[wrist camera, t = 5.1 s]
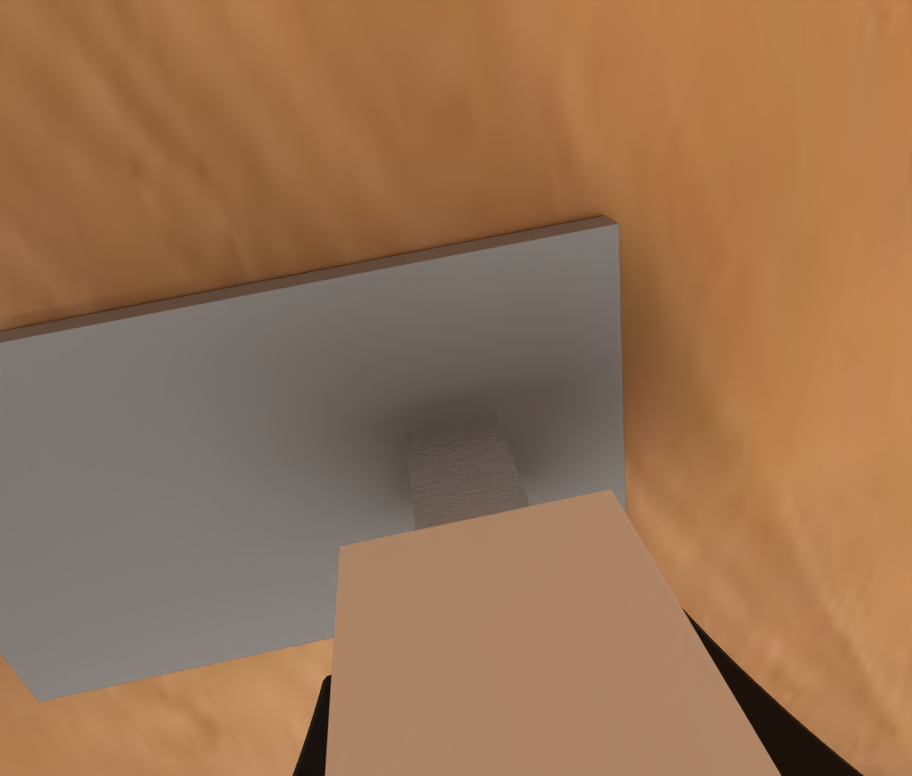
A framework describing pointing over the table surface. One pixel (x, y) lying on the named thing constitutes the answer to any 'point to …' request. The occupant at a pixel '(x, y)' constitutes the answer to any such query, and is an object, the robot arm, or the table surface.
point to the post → (462, 473)
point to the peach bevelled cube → (525, 655)
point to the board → (280, 442)
